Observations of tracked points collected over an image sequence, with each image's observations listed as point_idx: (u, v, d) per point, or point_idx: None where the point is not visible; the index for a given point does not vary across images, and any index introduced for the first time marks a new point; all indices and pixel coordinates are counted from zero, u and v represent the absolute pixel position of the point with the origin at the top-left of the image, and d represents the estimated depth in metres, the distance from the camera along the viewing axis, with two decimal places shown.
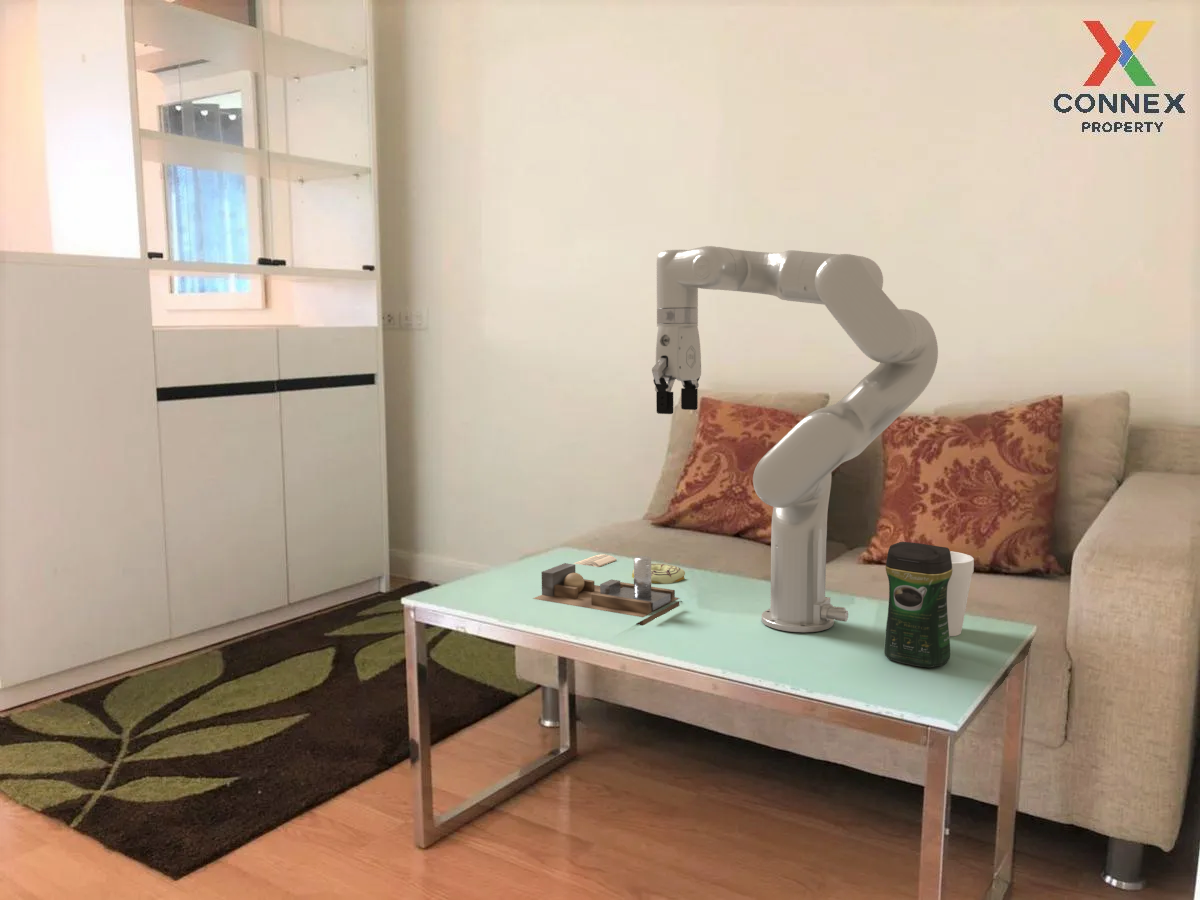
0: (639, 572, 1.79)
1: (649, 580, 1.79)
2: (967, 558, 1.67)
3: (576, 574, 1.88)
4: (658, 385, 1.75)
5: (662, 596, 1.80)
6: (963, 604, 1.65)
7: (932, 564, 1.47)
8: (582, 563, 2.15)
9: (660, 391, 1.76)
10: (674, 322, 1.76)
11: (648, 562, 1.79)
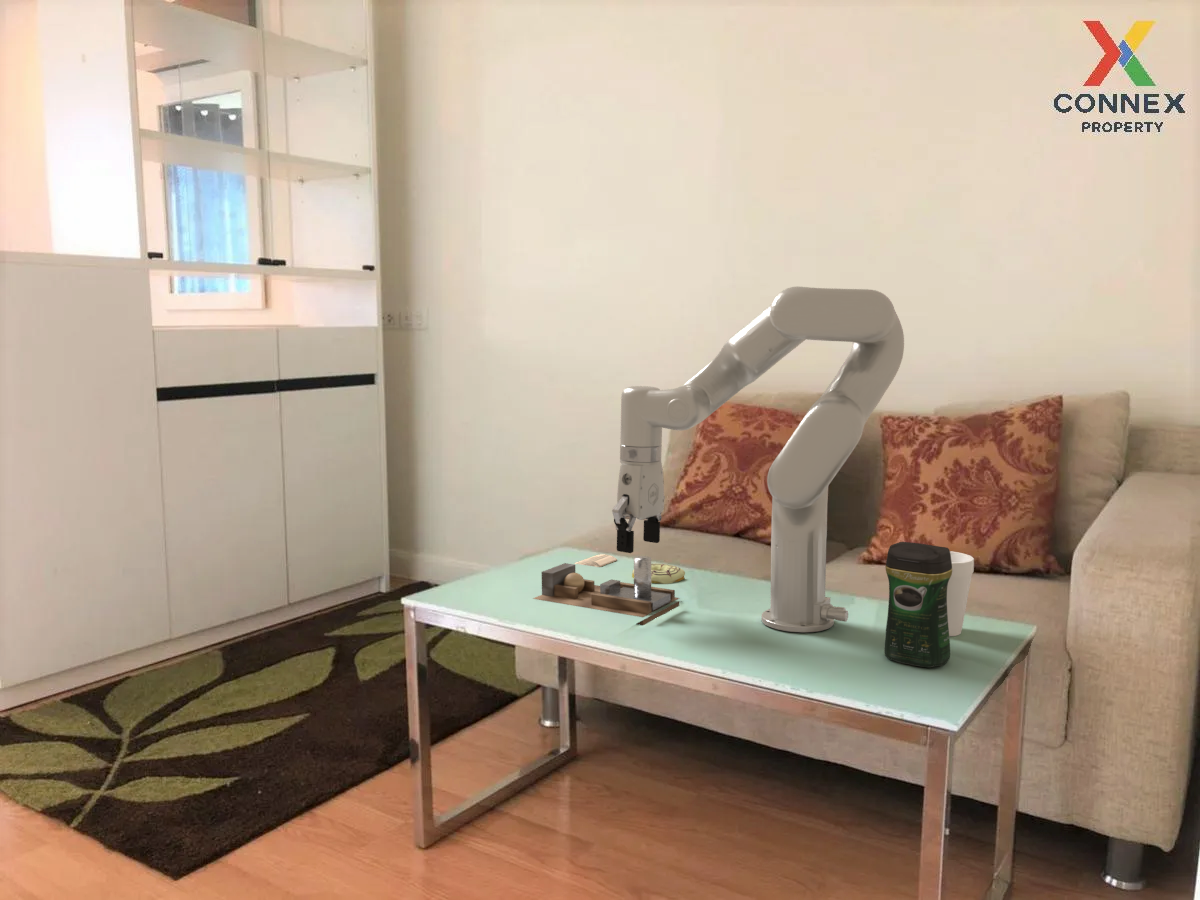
0: (639, 572, 1.79)
1: (649, 580, 1.79)
2: (967, 558, 1.67)
3: (576, 574, 1.88)
4: (618, 525, 1.73)
5: (662, 596, 1.80)
6: (963, 604, 1.65)
7: (932, 564, 1.47)
8: (583, 563, 2.15)
9: (620, 530, 1.74)
10: (637, 461, 1.74)
11: (648, 562, 1.79)
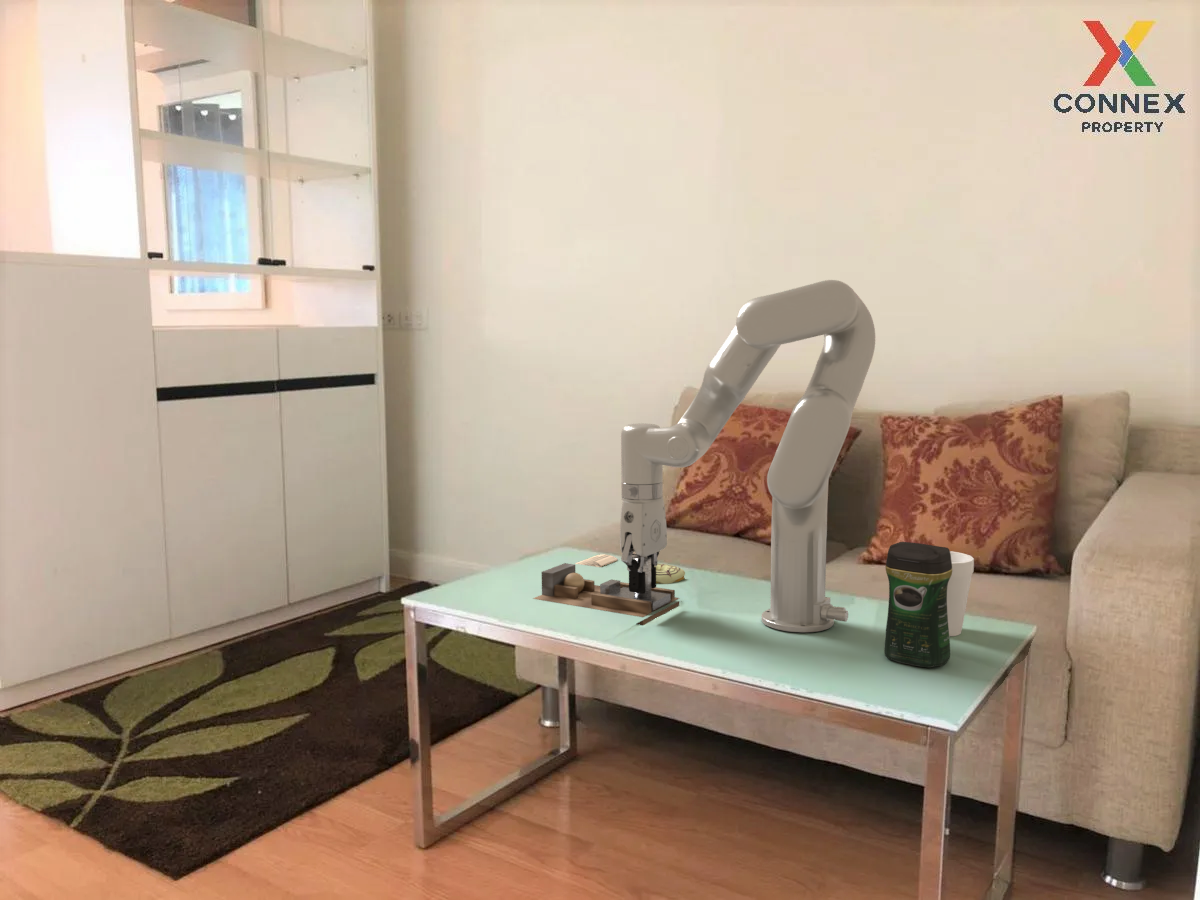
0: None
1: (649, 580, 1.79)
2: (967, 558, 1.67)
3: (576, 574, 1.88)
4: (630, 566, 1.77)
5: (662, 596, 1.80)
6: (963, 604, 1.65)
7: (932, 564, 1.47)
8: (584, 563, 2.14)
9: (632, 571, 1.78)
10: (638, 499, 1.75)
11: (648, 562, 1.79)
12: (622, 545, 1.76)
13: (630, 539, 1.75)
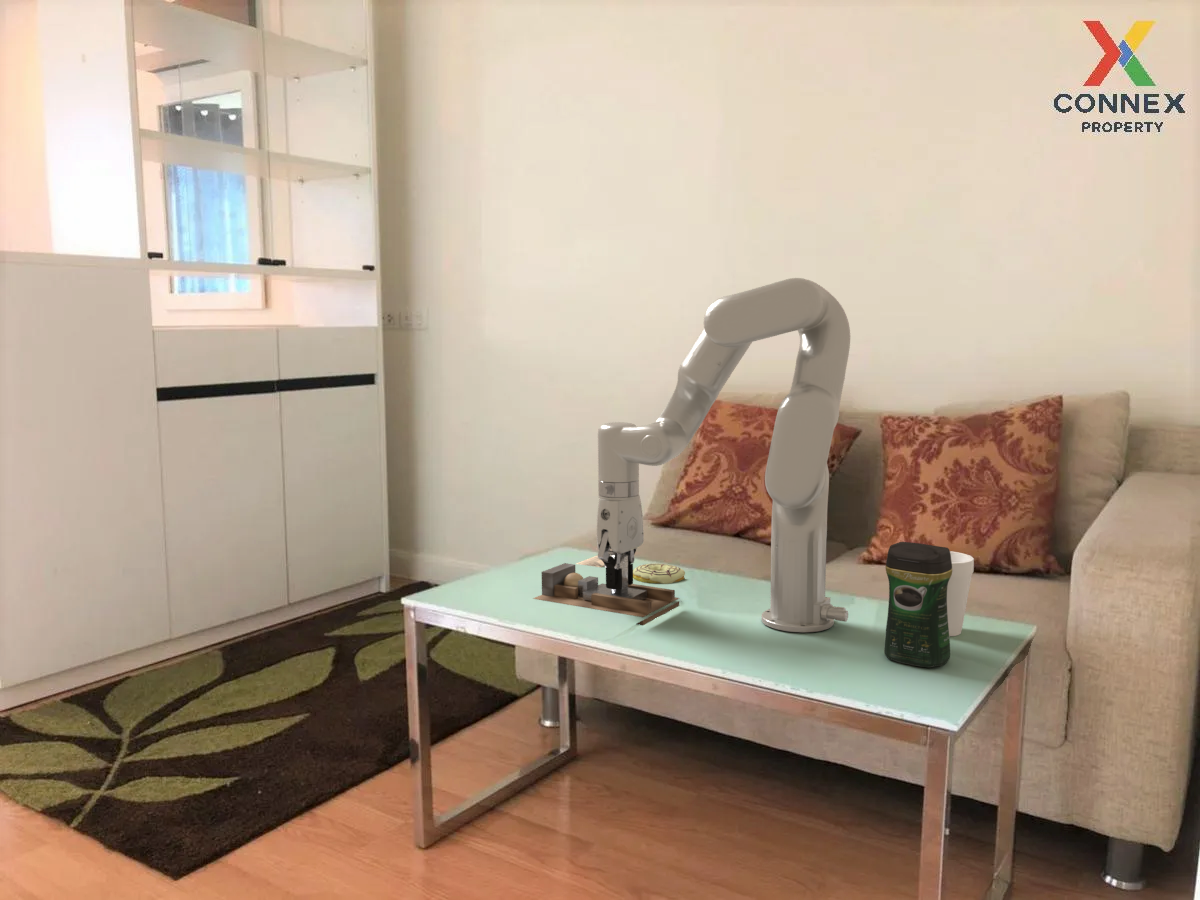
0: None
1: (626, 577, 1.82)
2: (967, 558, 1.67)
3: (576, 574, 1.88)
4: (607, 563, 1.79)
5: (639, 592, 1.82)
6: (963, 604, 1.65)
7: (932, 564, 1.47)
8: (585, 563, 2.14)
9: (609, 568, 1.80)
10: (614, 496, 1.77)
11: (624, 559, 1.81)
12: (599, 542, 1.78)
13: (606, 536, 1.78)
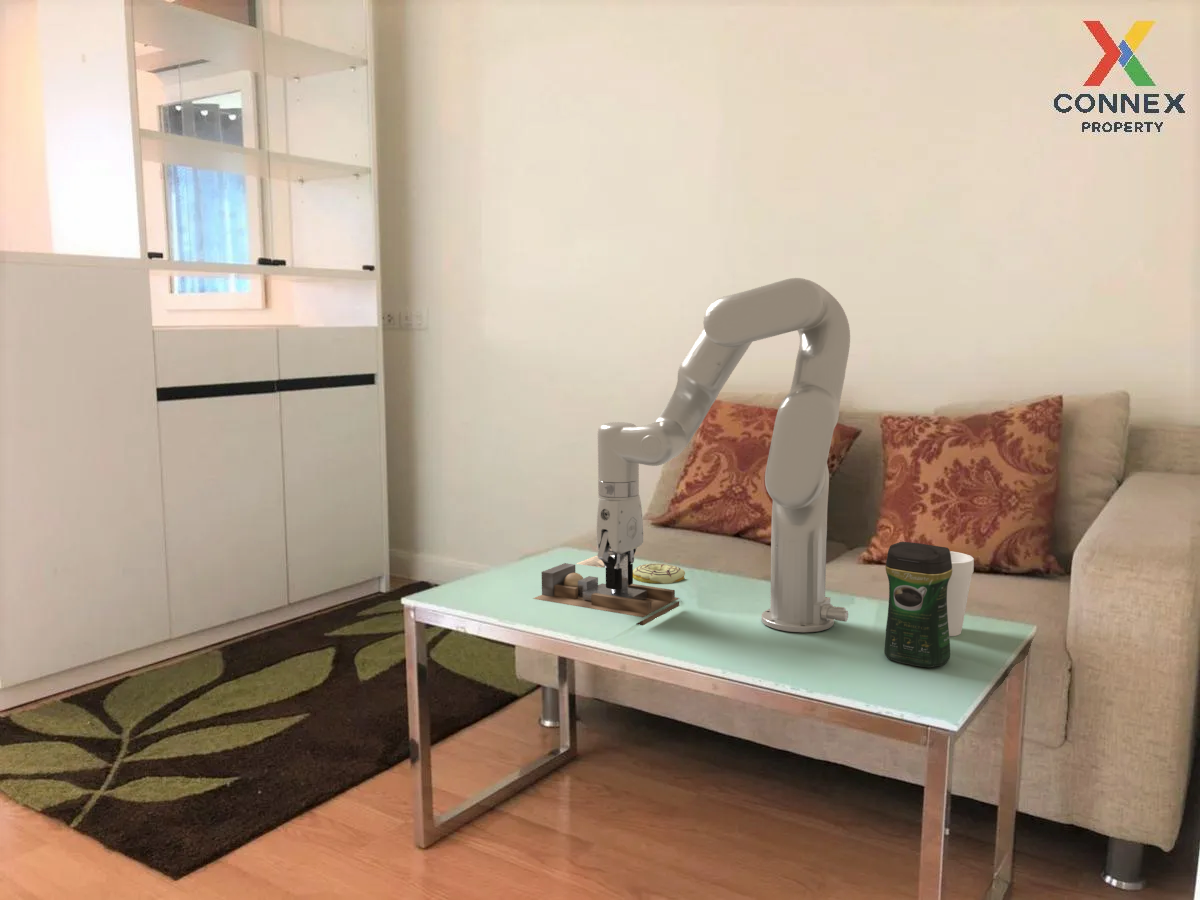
0: None
1: (625, 577, 1.82)
2: (967, 558, 1.67)
3: (576, 574, 1.88)
4: (606, 563, 1.79)
5: (638, 592, 1.82)
6: (963, 604, 1.65)
7: (932, 564, 1.47)
8: (585, 563, 2.14)
9: (609, 568, 1.80)
10: (614, 496, 1.77)
11: (624, 559, 1.81)
12: (598, 542, 1.78)
13: (606, 536, 1.78)
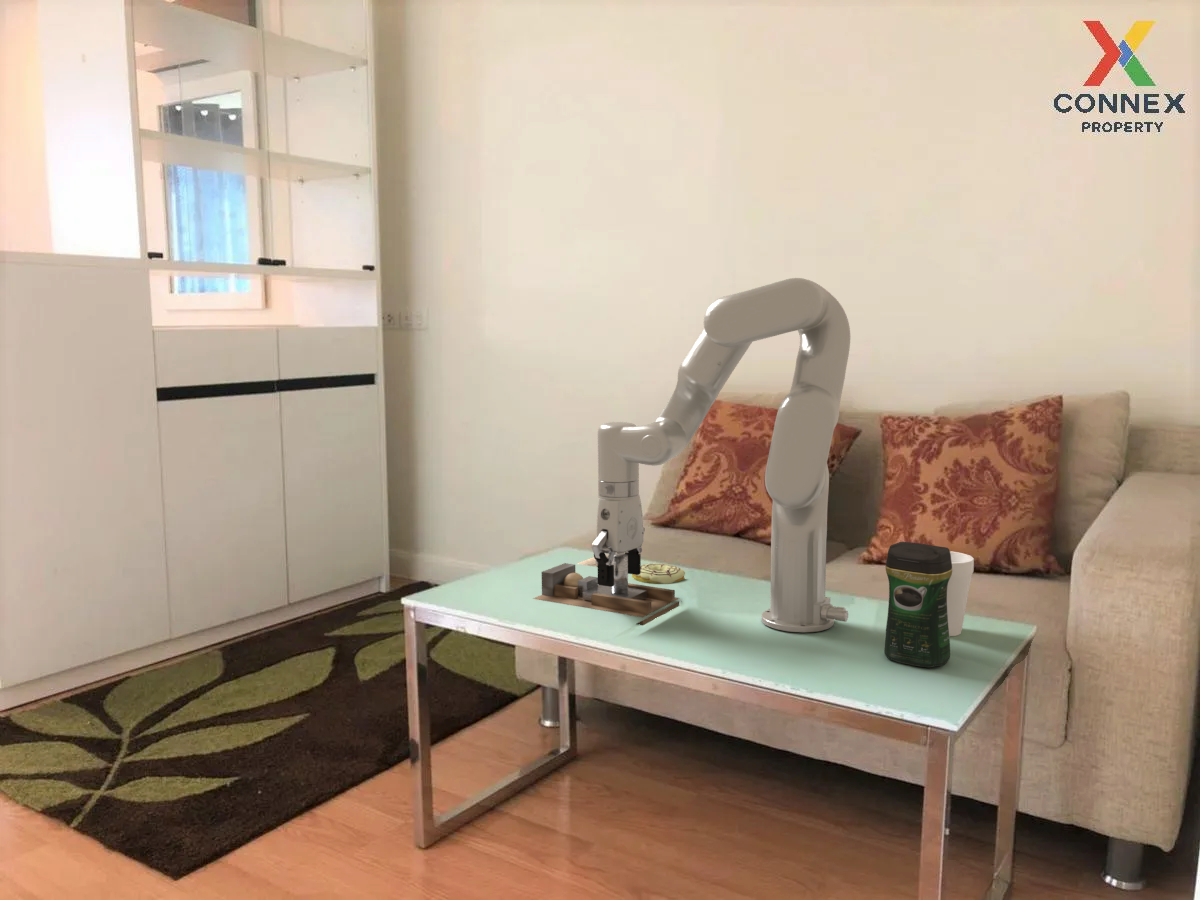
0: (615, 569, 1.81)
1: (625, 577, 1.82)
2: (967, 558, 1.67)
3: (576, 574, 1.88)
4: (598, 559, 1.77)
5: (638, 592, 1.82)
6: (963, 604, 1.65)
7: (932, 564, 1.47)
8: (586, 563, 2.14)
9: (601, 564, 1.78)
10: (614, 496, 1.77)
11: (624, 559, 1.81)
12: None
13: None
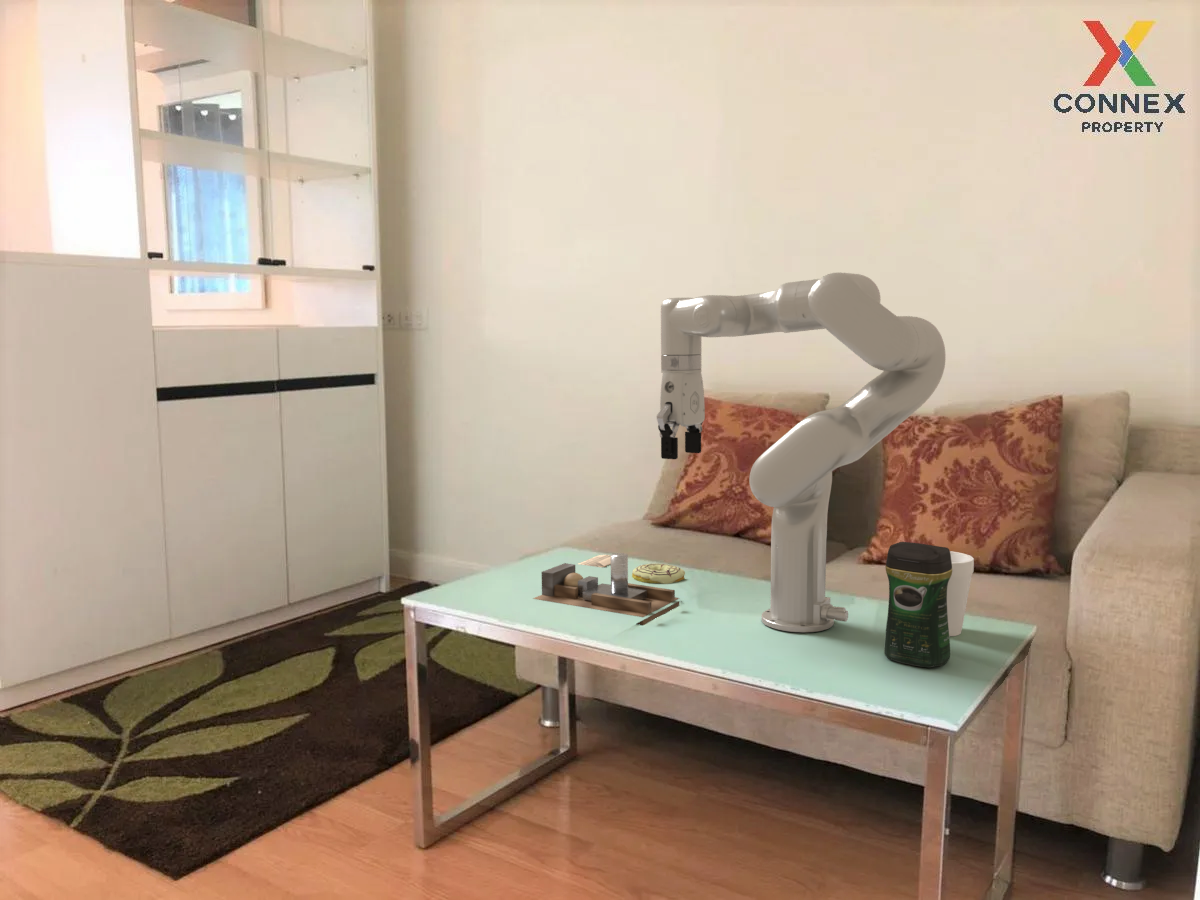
0: (615, 569, 1.81)
1: (625, 577, 1.82)
2: (967, 558, 1.67)
3: (576, 574, 1.88)
4: (663, 431, 1.78)
5: (638, 592, 1.82)
6: (963, 604, 1.65)
7: (932, 564, 1.47)
8: (587, 564, 2.14)
9: (665, 437, 1.79)
10: (678, 369, 1.79)
11: (624, 559, 1.81)
12: None
13: None
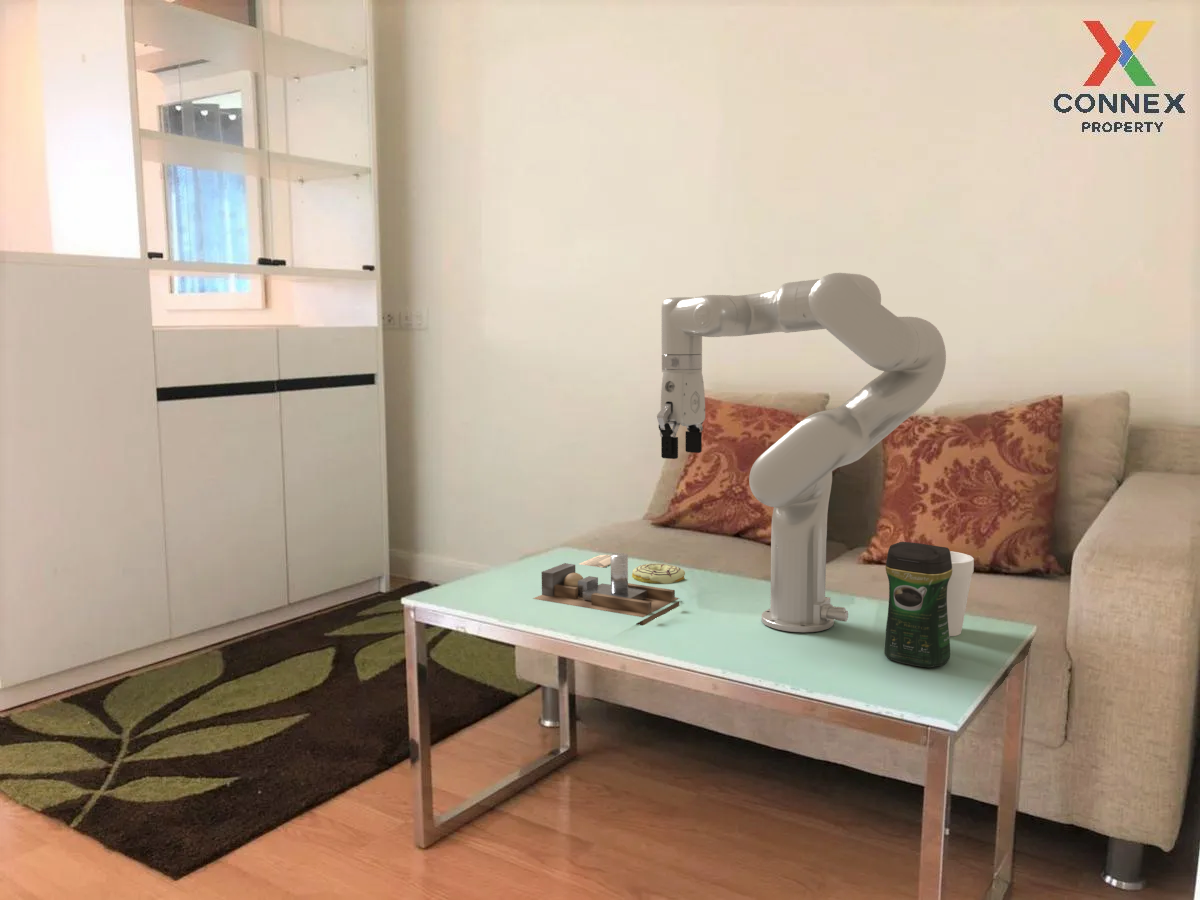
0: (615, 569, 1.81)
1: (625, 577, 1.82)
2: (967, 558, 1.67)
3: (576, 574, 1.88)
4: (663, 431, 1.78)
5: (638, 592, 1.82)
6: (963, 604, 1.65)
7: (932, 564, 1.47)
8: (587, 564, 2.14)
9: (665, 436, 1.79)
10: (679, 369, 1.79)
11: (624, 559, 1.81)
12: None
13: None
